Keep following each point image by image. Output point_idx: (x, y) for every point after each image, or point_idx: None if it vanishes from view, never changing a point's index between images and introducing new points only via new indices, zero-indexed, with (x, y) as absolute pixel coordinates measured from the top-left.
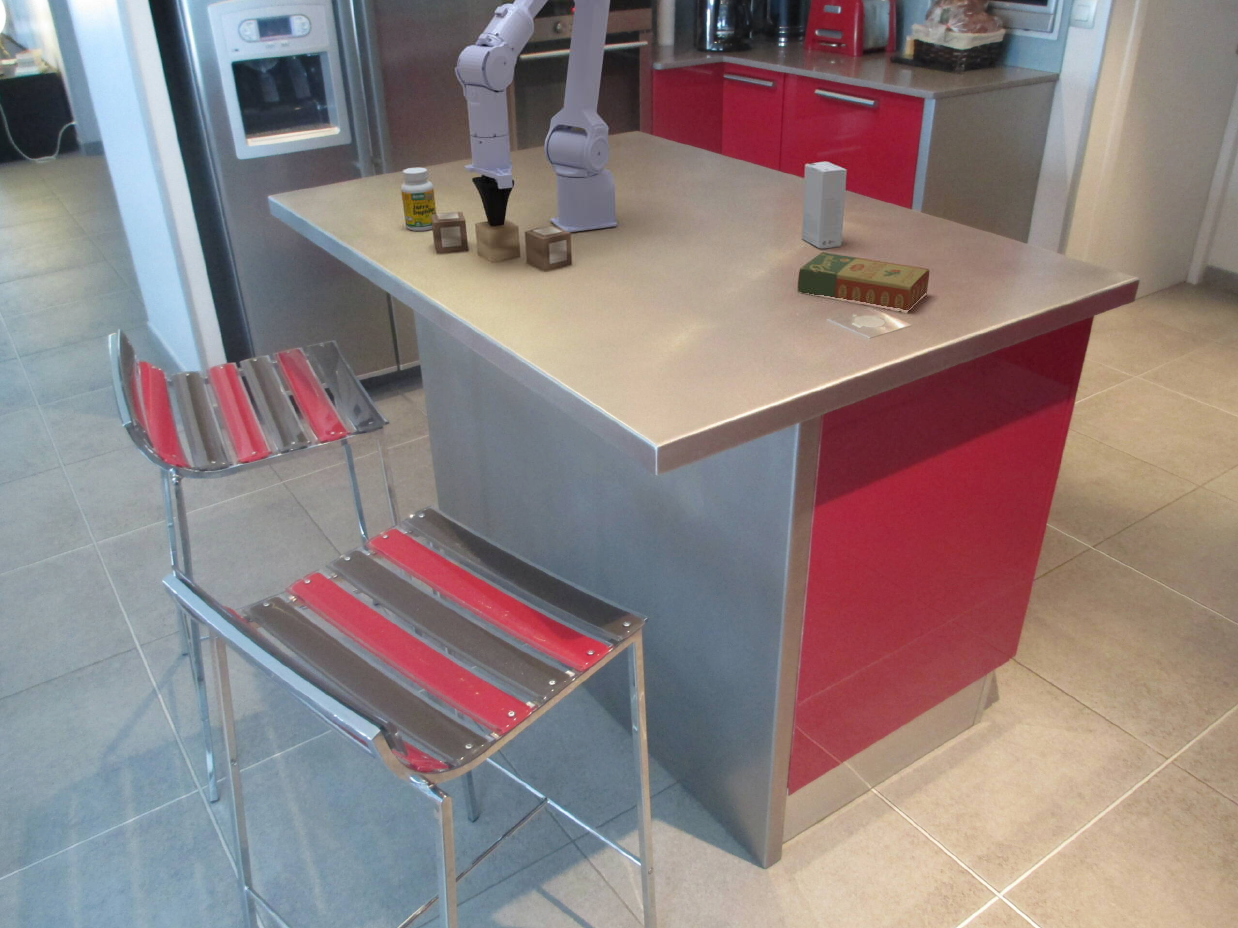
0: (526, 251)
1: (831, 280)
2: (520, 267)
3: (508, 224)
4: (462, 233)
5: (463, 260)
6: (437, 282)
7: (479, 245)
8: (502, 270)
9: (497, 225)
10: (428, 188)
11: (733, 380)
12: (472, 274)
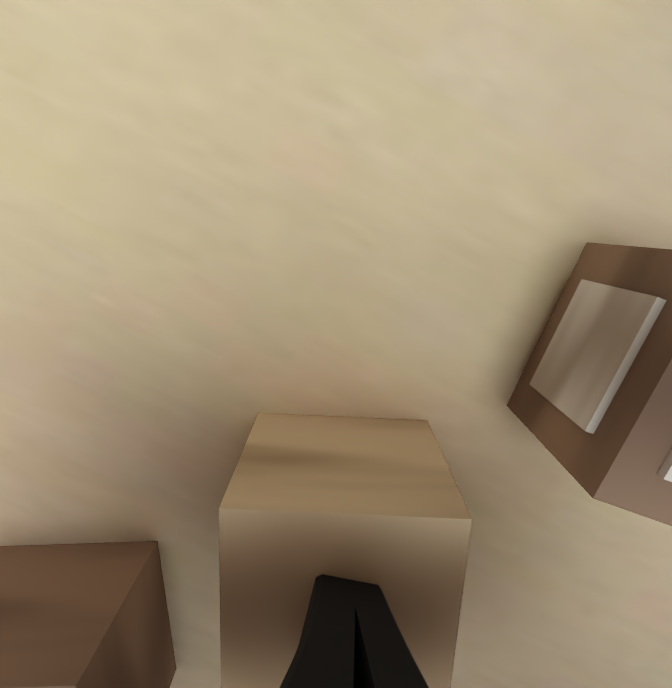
0: (128, 584)
1: None
2: (112, 490)
3: None
4: (562, 426)
5: (382, 314)
6: (113, 6)
7: (401, 444)
8: (116, 403)
9: (306, 614)
10: None
11: None
12: (139, 247)
